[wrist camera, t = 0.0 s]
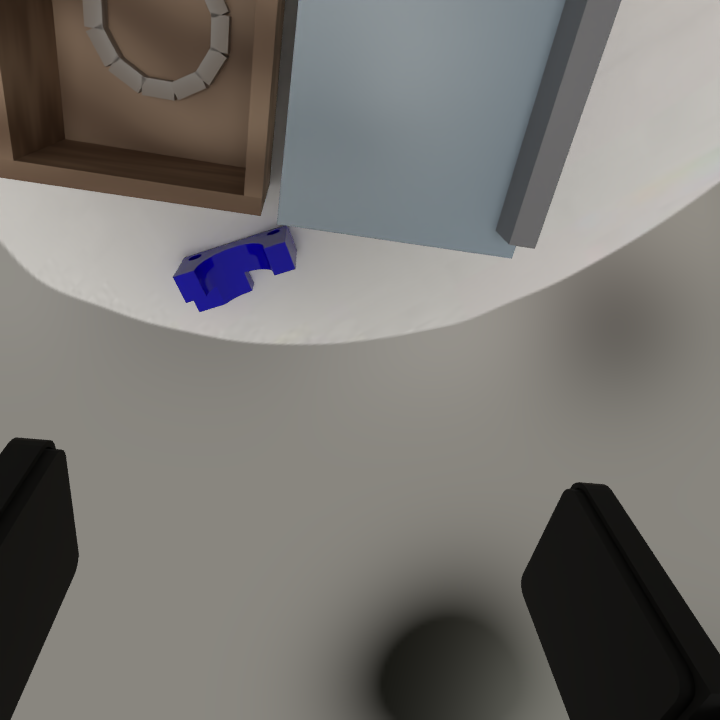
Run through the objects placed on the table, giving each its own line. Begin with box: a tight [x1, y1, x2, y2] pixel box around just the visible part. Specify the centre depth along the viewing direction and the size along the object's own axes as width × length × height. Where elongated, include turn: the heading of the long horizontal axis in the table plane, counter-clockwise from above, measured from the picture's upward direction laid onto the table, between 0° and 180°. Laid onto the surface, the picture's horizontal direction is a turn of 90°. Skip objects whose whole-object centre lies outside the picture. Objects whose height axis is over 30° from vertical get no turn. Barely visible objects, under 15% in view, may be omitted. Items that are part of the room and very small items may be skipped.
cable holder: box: [173, 225, 297, 312], centre depth 39 cm, size 8×4×4 cm, turn 106°
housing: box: [0, 0, 285, 216], centre depth 29 cm, size 17×14×8 cm
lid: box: [277, 0, 621, 258], centre depth 26 cm, size 17×14×3 cm
